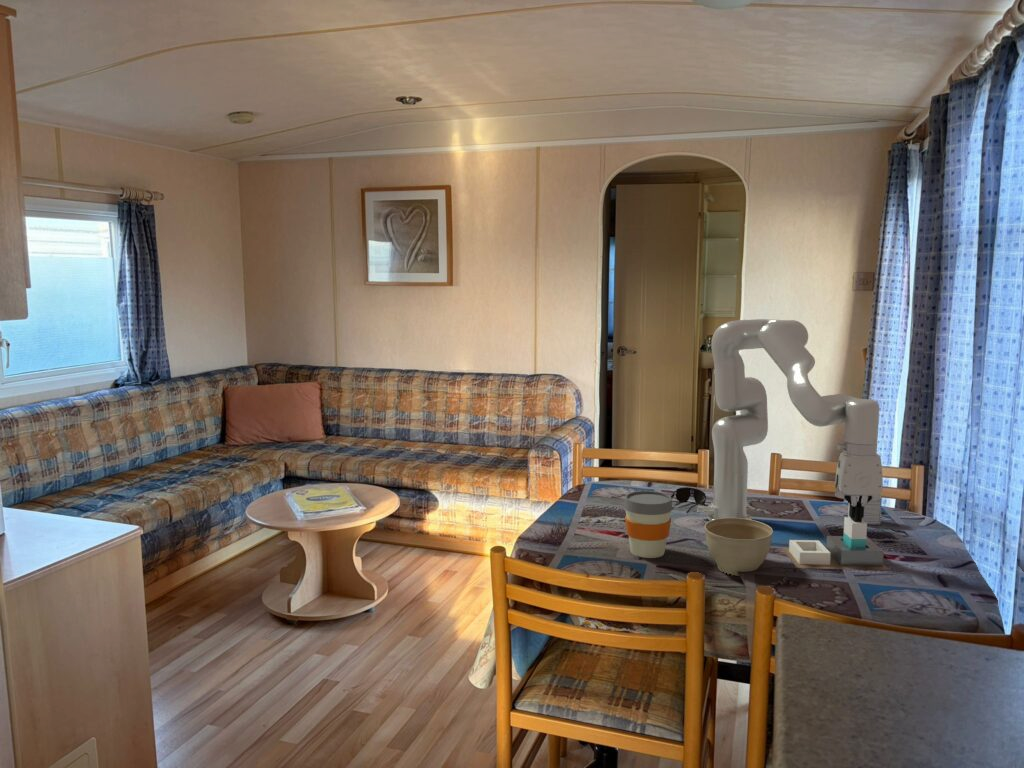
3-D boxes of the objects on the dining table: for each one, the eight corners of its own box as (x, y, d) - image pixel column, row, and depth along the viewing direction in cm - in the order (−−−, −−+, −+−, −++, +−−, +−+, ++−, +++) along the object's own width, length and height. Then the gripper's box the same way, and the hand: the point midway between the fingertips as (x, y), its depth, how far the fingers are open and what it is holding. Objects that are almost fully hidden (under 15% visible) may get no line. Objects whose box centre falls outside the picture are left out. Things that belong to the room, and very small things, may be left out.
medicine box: (874, 520, 221) (876, 492, 219) (880, 525, 216) (882, 496, 215) (847, 519, 221) (848, 491, 220) (852, 524, 217) (854, 496, 216)
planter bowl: (719, 552, 196) (720, 513, 195) (780, 567, 186) (782, 525, 184) (692, 571, 184) (693, 529, 182) (756, 588, 174) (757, 544, 172)
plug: (850, 562, 185) (852, 523, 184) (842, 554, 190) (844, 517, 188) (864, 562, 185) (867, 523, 183) (856, 554, 190) (858, 517, 188)
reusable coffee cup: (635, 563, 190) (636, 506, 188) (616, 546, 202) (616, 492, 200) (680, 557, 193) (681, 502, 191) (658, 541, 205) (659, 488, 203)
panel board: (796, 573, 182) (797, 567, 182) (780, 552, 196) (781, 547, 195) (889, 575, 180) (890, 569, 180) (866, 554, 194) (867, 548, 194)
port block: (840, 566, 183) (841, 550, 182) (826, 550, 193) (827, 535, 192) (882, 566, 182) (883, 551, 181) (866, 551, 192) (866, 536, 191)
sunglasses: (708, 504, 238) (708, 490, 236) (694, 519, 228) (694, 504, 227) (677, 499, 244) (676, 485, 242) (662, 513, 234) (661, 498, 233)
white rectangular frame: (799, 563, 184) (799, 552, 184) (789, 551, 193) (789, 539, 192) (829, 564, 184) (830, 553, 183) (818, 551, 192) (818, 540, 192)
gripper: (834, 452, 180) (830, 524, 183) (897, 452, 179) (893, 525, 182) (823, 445, 188) (820, 515, 190) (885, 445, 186) (880, 516, 189)
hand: (856, 520), depth 186 cm, fingers closed
